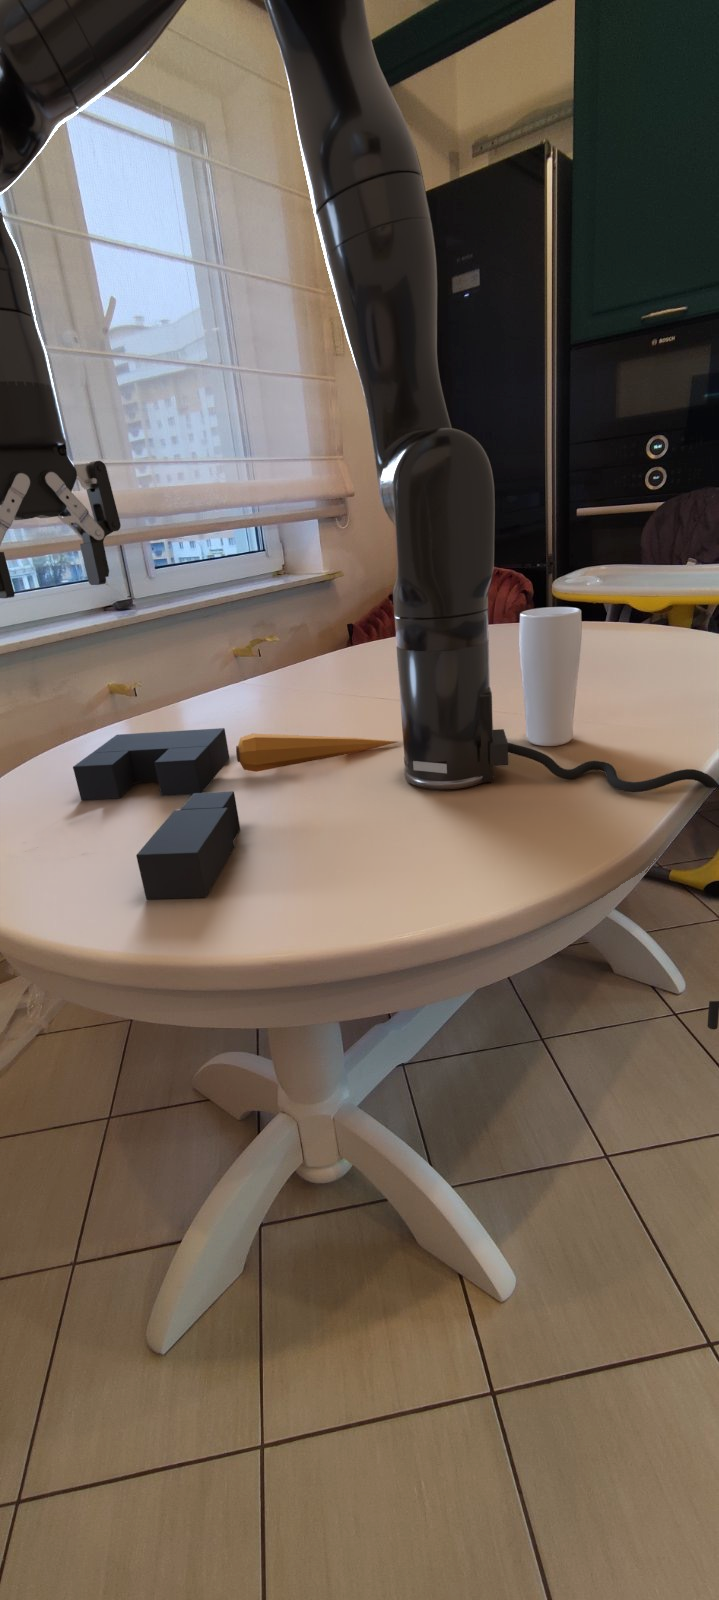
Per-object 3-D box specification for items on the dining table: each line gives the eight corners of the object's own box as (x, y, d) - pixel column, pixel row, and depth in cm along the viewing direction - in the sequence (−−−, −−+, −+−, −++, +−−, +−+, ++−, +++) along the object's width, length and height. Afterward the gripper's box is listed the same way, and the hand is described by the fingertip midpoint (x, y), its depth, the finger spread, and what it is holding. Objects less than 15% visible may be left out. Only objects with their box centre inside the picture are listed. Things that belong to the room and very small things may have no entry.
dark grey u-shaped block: (229, 758, 90) (224, 727, 89) (201, 794, 79) (194, 759, 78) (123, 764, 92) (116, 734, 91) (80, 800, 81) (72, 766, 80)
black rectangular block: (245, 829, 69) (239, 790, 68) (206, 897, 57) (197, 852, 56) (195, 831, 70) (188, 793, 68) (145, 899, 58) (135, 855, 56)
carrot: (239, 781, 84) (240, 750, 81) (234, 756, 87) (234, 726, 84) (402, 767, 90) (407, 738, 87) (391, 745, 93) (396, 716, 90)
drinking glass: (581, 749, 82) (584, 613, 76) (519, 750, 83) (518, 617, 78) (576, 731, 88) (580, 605, 82) (519, 732, 89) (519, 608, 84)
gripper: (-75, 372, 52) (-11, 603, 58) (106, 381, 61) (145, 580, 67) (-105, 391, 57) (-43, 602, 63) (67, 396, 66) (106, 580, 72)
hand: (54, 590), depth 65 cm, fingers open, 8 cm apart
